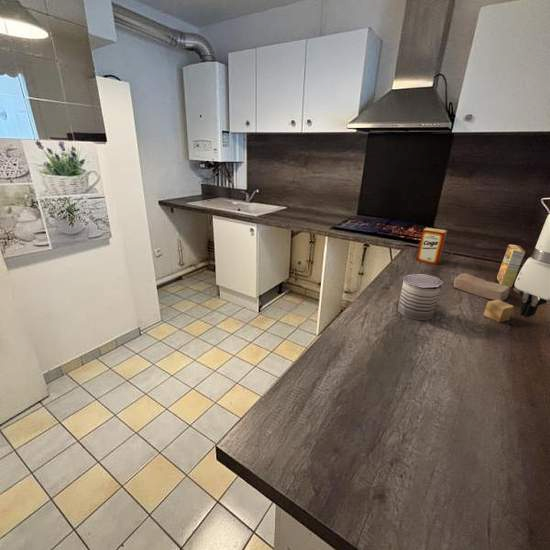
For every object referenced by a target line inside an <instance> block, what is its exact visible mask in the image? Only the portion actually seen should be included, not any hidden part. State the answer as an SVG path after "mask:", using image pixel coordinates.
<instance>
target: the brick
mask: <svg viewBox="0 0 550 550" xmlns="http://www.w3.org/2000/svg"><path fill="white" fill-rule="evenodd" d="M453 288H456V289H458V290H461V291H464V292H466V293H469V294H472V295H475V296H476V297H477V296H478V297H481V298H485V299H488V300H491V301H494V300H500V301H503V302H504V301H505V300H507V298H508V296H509V294H510V290H511V287H508V286H503V285H501V284H500V283H499V282H498V283H497V282H493V281H487V280H485V279H483V278H480V277H477V276H475V275H472V274H469V273H463V272H462V273H461V274H459V275H457V276H456V277H455V279H454V281H453Z"/></svg>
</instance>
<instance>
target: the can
mask: <svg viewBox="0 0 550 550" xmlns="http://www.w3.org/2000/svg"><path fill="white" fill-rule="evenodd" d="M401 279H402V280H403V281H402V286H401V291H400V296H399V301H398V306H397V311H398V312H399V313H400V314H401V315H402V316H404V317H407V318H409V319H412V320H415V321H416V320H417V321H428V320H431V319H433V318H434V315H435V311H436V308H437V305H438V304H437V303H438V300H439V297H440V293H441V289H442V285H443V284H444V283H445V282H444V281H442V279H440V278H439V277H437V276H433V275H428V274H423V273H420V274H419V273H417V274H416V273H413V274H407V275H406V276H404V277H402V278H401Z"/></svg>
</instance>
